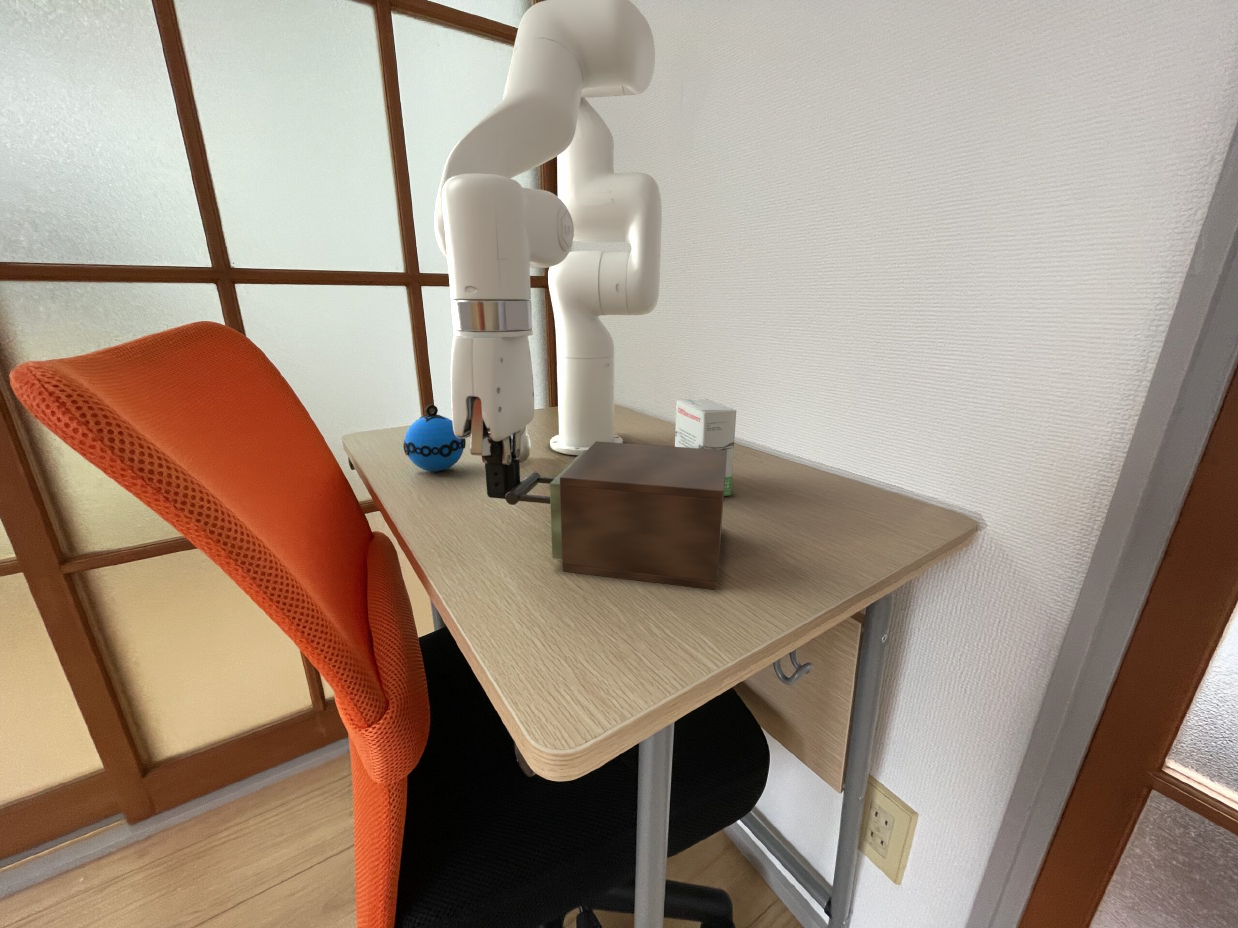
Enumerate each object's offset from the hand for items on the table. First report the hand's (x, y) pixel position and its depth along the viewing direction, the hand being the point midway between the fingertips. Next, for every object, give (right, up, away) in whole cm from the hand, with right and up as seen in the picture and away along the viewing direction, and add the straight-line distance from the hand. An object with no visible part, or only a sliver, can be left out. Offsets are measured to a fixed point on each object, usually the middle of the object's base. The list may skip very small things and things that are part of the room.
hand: (504, 495), depth 57 cm
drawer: (+11, -4, -1) cm, 12 cm away
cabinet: (+15, -6, -2) cm, 16 cm away
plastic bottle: (-5, +3, +26) cm, 27 cm away
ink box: (+24, 0, +16) cm, 29 cm away
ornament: (-15, +2, +22) cm, 27 cm away
